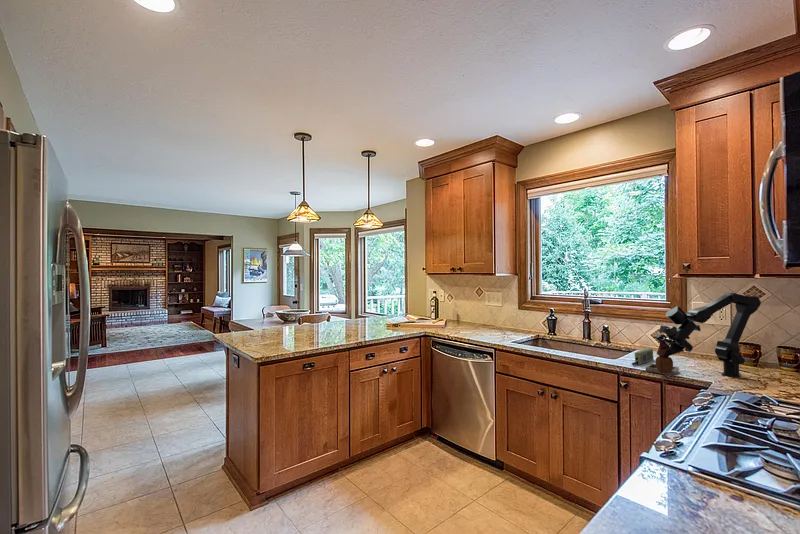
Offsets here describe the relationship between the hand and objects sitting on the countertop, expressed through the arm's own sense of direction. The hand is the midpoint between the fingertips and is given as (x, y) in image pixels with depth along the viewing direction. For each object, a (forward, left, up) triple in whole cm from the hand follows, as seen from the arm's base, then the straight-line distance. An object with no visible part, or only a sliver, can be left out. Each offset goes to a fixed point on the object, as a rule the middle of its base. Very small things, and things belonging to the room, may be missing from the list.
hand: (660, 355), depth 181 cm
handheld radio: (-26, -14, -10) cm, 32 cm away
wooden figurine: (-1, +1, -8) cm, 8 cm away
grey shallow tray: (-11, -2, -10) cm, 15 cm away
